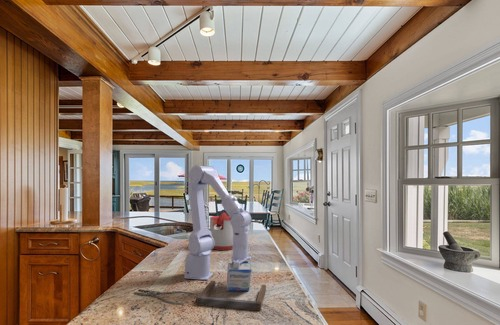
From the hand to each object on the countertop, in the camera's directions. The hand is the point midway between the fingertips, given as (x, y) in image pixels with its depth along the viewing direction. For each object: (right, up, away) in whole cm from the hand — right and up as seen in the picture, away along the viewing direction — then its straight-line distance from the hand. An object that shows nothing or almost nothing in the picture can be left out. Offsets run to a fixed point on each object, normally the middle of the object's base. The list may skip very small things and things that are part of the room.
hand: (239, 282), depth 108 cm
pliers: (-25, -1, -12) cm, 28 cm away
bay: (-2, -1, -10) cm, 10 cm away
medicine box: (0, -1, -3) cm, 3 cm away
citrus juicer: (-12, -4, +56) cm, 58 cm away
